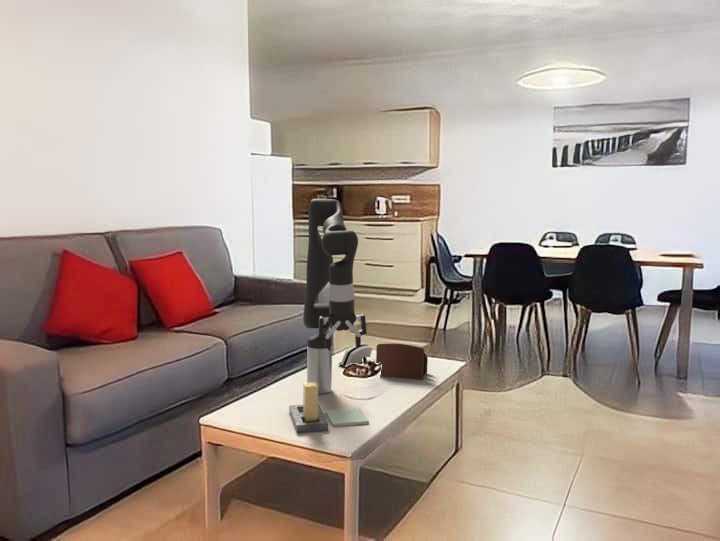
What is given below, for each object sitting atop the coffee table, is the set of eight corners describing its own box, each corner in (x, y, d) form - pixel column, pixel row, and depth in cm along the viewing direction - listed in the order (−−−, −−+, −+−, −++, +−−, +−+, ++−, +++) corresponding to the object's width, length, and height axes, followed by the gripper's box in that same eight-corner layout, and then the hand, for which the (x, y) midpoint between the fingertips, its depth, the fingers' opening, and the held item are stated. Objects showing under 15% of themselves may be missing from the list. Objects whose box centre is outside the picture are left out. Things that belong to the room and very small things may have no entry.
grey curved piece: (360, 358, 279) (367, 339, 276) (368, 363, 277) (375, 344, 273) (337, 366, 266) (343, 346, 263) (345, 371, 263) (352, 351, 260)
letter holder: (423, 380, 249) (424, 346, 247) (375, 375, 254) (376, 342, 252) (427, 373, 258) (428, 340, 256) (381, 369, 264) (382, 336, 262)
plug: (303, 424, 200) (303, 382, 198) (315, 423, 201) (315, 382, 199) (305, 429, 196) (305, 386, 195) (317, 428, 197) (317, 386, 196)
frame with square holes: (289, 412, 211) (289, 405, 210) (318, 410, 213) (318, 403, 213) (296, 433, 193) (296, 425, 193) (328, 430, 196) (328, 423, 195)
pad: (325, 413, 211) (325, 410, 210) (360, 411, 213) (360, 408, 213) (332, 426, 199) (332, 423, 199) (368, 424, 202) (368, 421, 202)
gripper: (363, 292, 189) (364, 342, 193) (316, 295, 187) (318, 346, 191) (367, 299, 182) (368, 351, 185) (318, 302, 180) (320, 354, 184)
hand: (343, 348), depth 188 cm, fingers open, 8 cm apart
